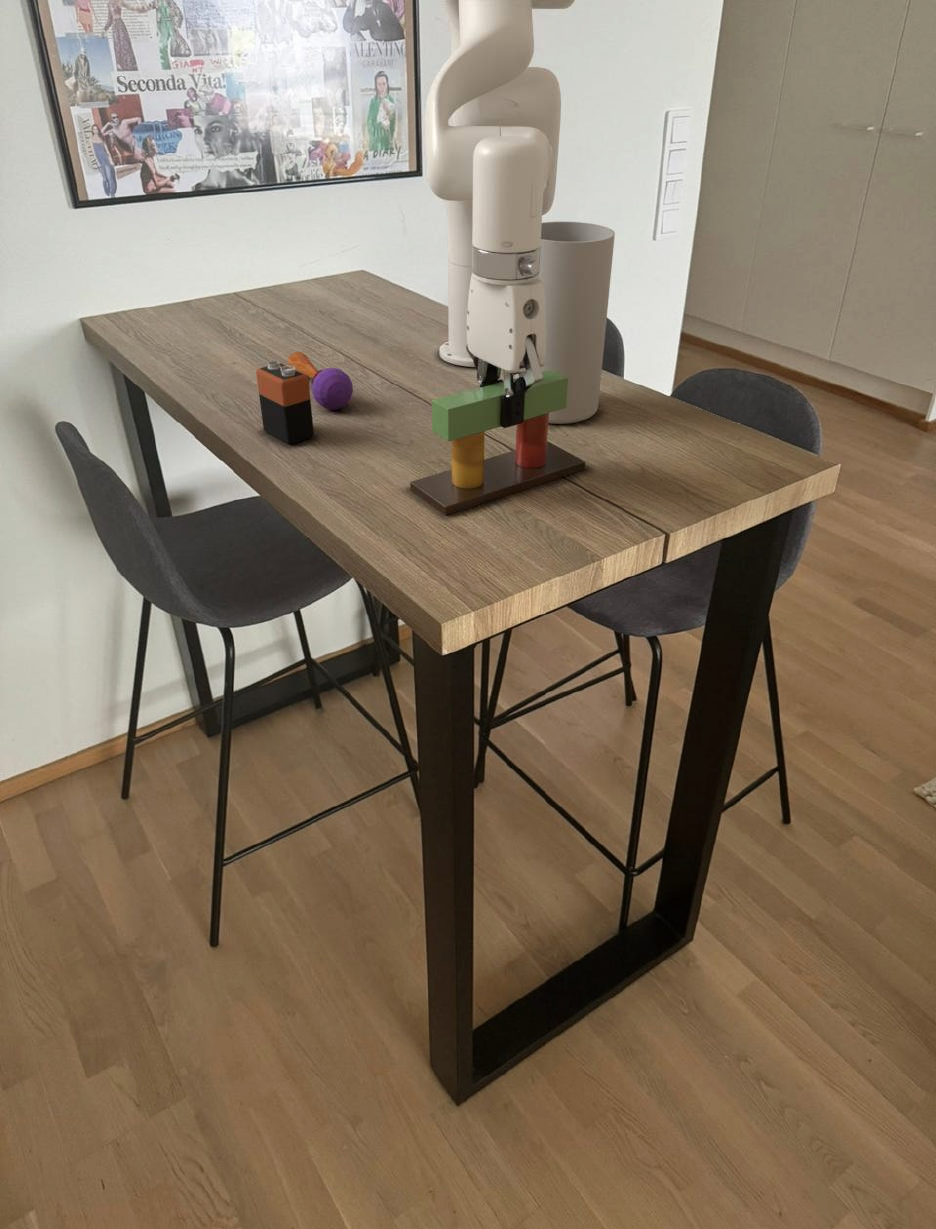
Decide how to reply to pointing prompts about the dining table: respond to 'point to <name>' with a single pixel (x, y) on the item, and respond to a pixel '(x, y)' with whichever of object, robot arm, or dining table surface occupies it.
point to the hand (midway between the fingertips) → (501, 417)
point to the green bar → (494, 406)
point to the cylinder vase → (576, 310)
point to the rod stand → (496, 469)
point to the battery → (285, 402)
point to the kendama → (324, 382)
